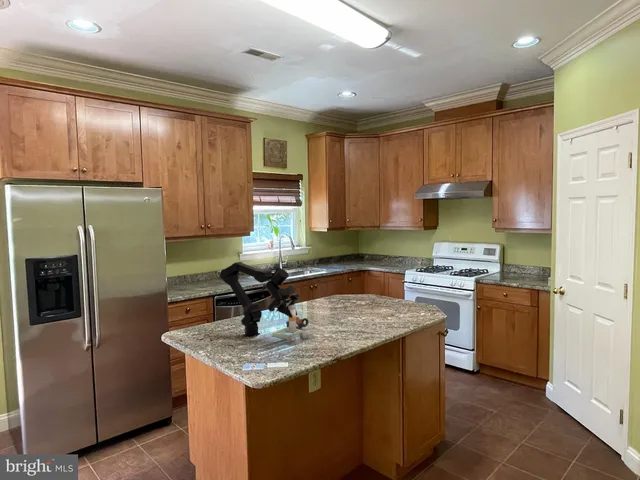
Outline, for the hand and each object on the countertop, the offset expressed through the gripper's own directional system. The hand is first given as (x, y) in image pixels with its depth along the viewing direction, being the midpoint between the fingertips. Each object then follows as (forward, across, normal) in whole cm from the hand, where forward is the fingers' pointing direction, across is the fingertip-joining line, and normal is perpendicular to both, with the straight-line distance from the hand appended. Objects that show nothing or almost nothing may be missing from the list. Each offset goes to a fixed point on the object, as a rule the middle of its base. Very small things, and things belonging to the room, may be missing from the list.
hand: (294, 316), depth 197 cm
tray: (+3, +6, +16) cm, 17 cm away
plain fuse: (+10, +7, +7) cm, 14 cm away
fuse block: (+10, +2, +8) cm, 13 cm away
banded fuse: (+4, 0, +6) cm, 7 cm away
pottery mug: (+1, +18, +18) cm, 26 cm away
